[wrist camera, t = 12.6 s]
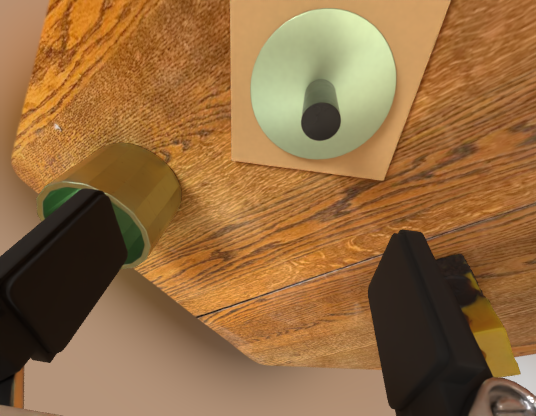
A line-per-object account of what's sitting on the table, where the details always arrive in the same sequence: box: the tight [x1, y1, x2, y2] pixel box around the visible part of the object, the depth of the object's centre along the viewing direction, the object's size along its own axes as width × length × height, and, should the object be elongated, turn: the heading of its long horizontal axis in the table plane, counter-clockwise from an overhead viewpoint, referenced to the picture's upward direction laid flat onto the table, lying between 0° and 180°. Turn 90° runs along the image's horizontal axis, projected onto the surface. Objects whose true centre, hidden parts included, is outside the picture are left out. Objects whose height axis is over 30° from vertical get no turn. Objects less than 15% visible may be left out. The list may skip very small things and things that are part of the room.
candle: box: [435, 254, 520, 377], centre depth 34 cm, size 10×10×10 cm
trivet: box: [230, 0, 451, 181], centre depth 25 cm, size 16×16×1 cm
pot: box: [37, 143, 182, 269], centre depth 31 cm, size 11×11×8 cm
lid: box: [250, 8, 396, 160], centre depth 22 cm, size 12×12×8 cm
